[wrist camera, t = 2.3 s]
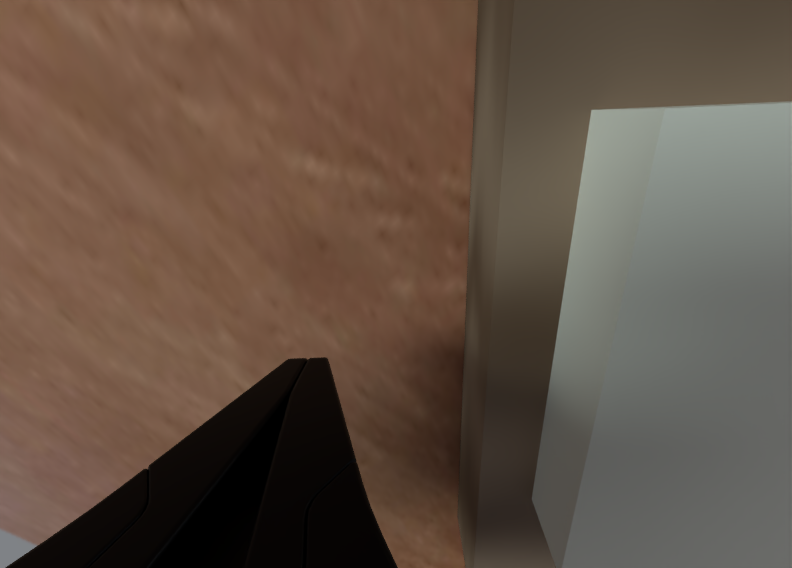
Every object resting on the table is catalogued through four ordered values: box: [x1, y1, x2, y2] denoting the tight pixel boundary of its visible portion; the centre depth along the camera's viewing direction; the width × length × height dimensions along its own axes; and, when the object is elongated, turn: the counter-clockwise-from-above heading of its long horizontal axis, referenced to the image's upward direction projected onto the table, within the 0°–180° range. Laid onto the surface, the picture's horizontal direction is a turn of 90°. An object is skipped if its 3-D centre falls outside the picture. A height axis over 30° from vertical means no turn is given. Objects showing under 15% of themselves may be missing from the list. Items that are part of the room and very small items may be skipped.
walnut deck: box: [458, 0, 792, 568], centre depth 10 cm, size 20×14×3 cm
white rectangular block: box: [532, 101, 792, 568], centre depth 8 cm, size 10×7×2 cm
